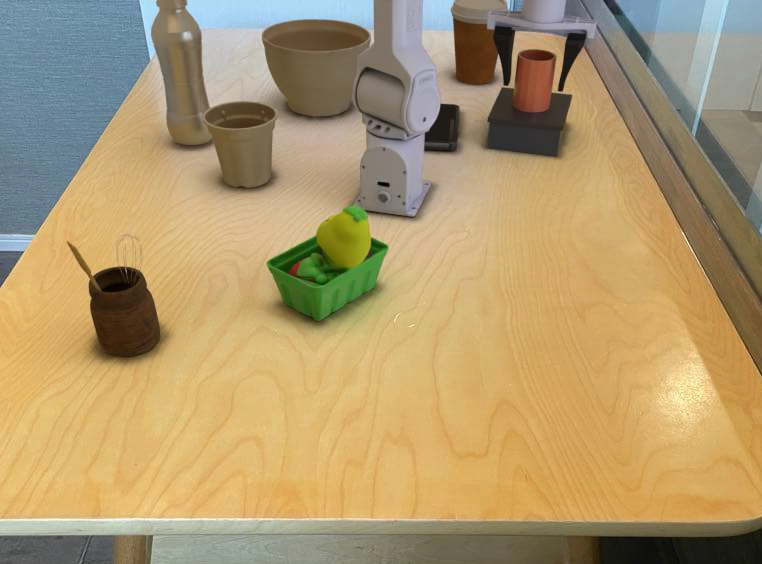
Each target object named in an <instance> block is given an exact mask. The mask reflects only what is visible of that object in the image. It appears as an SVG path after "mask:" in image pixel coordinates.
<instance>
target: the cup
mask: <svg viewBox="0 0 762 564" xmlns="http://www.w3.org/2000/svg"><path fill="white" fill-rule="evenodd" d="M557 58H558V56H557V54H556V53H555V52H552V51H549V50H546V49H540V48H539V49H538V48H529V49H523V50H520V51H519V52H518V54H517V58H516V67H515V75H514V84H513V88H514V94H513V106H514V107H515V108H516V109H518V110H521V111H524V112H543V111H546V110H548V109H549V107H550V101H551V94H552V93H553V86H554V79H555V72H556V64H557Z"/></svg>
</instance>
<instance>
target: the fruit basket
mask: <svg viewBox="0 0 762 564" xmlns="http://www.w3.org/2000/svg"><path fill="white" fill-rule="evenodd" d="M369 222H370V221H369V215H368V213H367V211H366V210H364V209H363V208H361V207H357V206H353V205H348V206H346V207H344V208H343V209H342V211H341V212H338V213H336V214H333V215H331V216H329V217H328V218H327V219H325V220H324V221H322V222H321V223H320V225H319V226H318V228H317V230H316V233H315V235H313V236H311V237H310V238H307V239H306V240H304V241H303V242H299V243H298V244H297V245H294V246H293V247H291V248H288V249H287V250H285V251H284V252H281V253H280V254H278V255H275V256H274V257H271V258H270V259H268V260H267V261H266V266H267V269H268V270H269V272H270V274H271V275H272V277H273V279H274V282H275V284H276V287H277V289H278V292H279V294H280V296H281V299H282V301H283V303H284V305H285V306H289V307H291V308H293V309H294V310H295V311H297V312H300V313H302V314H303V315H305V316H306V317H311V318H313V320H314V321H316V322H321V321H322V320H324V319H325V318H327V317H329V316H330V315H331V313H335V312H337V311H338V310H340V309H342V308H343V307H345V306H346V305H347V304H348V303H352V302H353V301H355V300H356V299H358V298H360V297H361V295H363V294H365V293H368V292H369V291H371V290H372V289H374V288H375V287H376V283H377V280H378V277H379V274H380V271H381V268H382V265H383V262H384V258H385V257H386V256H387V254H388V251H389V248H390V246H389V245H388V244H387V243H385V242H383V241H380V240H378V239H376V238H374V237H373V236H372V234H371V231H370V229H371V228H370V223H369Z"/></svg>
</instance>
